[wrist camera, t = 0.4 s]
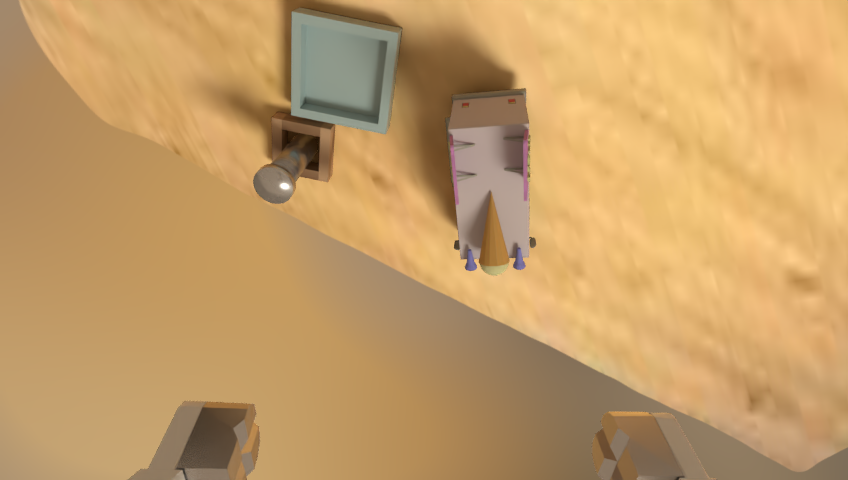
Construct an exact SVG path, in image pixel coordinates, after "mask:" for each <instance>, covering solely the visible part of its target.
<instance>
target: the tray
mask: <svg viewBox="0 0 848 480" xmlns="http://www.w3.org/2000/svg"><path fill="white" fill-rule="evenodd" d="M401 34H402V28H400V27H395V26H390V25H385V24H380V23H375V22H370V21H365V20H360V19H355V18H350V17H345V16H340V15H335V14H330V13H325V12H320V11H315V10H310V9H305V8H300V7H299V8H297V9H295V10H294V11H292V38H291V115H293V116H297V117H302V118H307V119H312V120H317V121H322V122H327V123H332V124H337V125H342V126H347V127H352V128H357V129H362V130H367V131H372V132H377V133H382V134H386V133H387V131H388V129H389V126H390V119H391V112H392V104H393V96H394V88H395V80H396V73H397V65H398V57H399V49H400V42H401Z"/></svg>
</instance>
